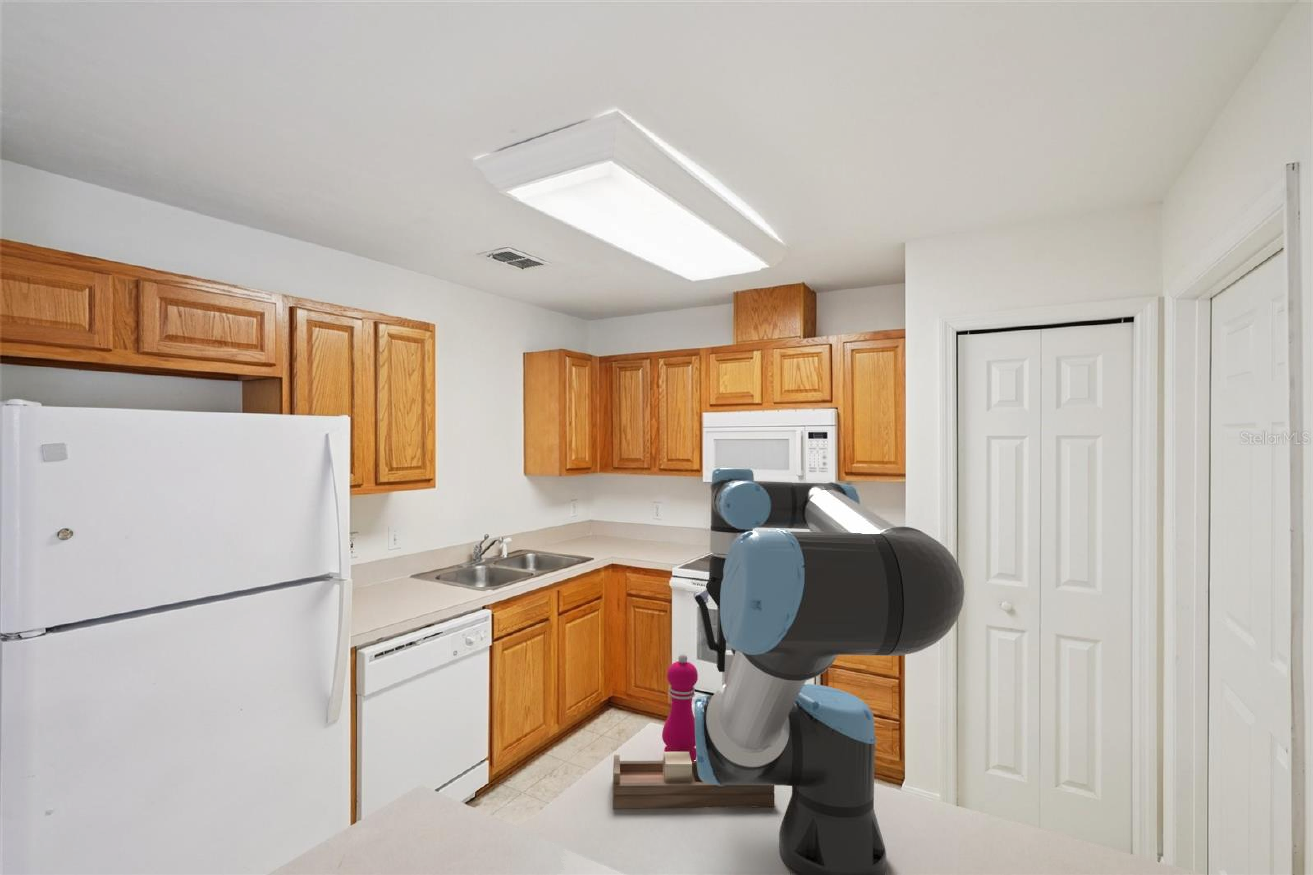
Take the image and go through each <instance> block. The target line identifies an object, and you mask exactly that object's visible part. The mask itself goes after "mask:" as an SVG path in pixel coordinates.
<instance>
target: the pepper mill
mask: <svg viewBox="0 0 1313 875" xmlns="http://www.w3.org/2000/svg"><path fill="white" fill-rule="evenodd" d="M666 679H667V682H668V684H669V685H670V686H669V687H668V688H669V689H668V690H669V692H668V695H669V696H670V698H671V703H670V704H671V705H670V710H669V711H670V712H669V714H668V716H667V717H666V718H667V719H666V720H665V722H664V725H663V727H662V734H661V737H662V738H661V739H662V741H663V743H664V744H665V747H664V749H663V753H664V752H689V754H690V758H691V761H694V760H696V761H697V756H696V742H695V715H694V711H693V704H692V703H693V698H694V697H695V696H696V693H695V690H696V688H695V685H696V684H697V683H698V679H699V675H698V670H697V668H696V666H694V664H693V663H691V662H689V661H688V656H687V655H686V654H685V653H681V654H679V655H678V661H675V662H673V663H672V664H671V665H669V668H668V669H667V672H666Z"/></svg>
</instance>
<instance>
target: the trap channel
mask: <svg viewBox="0 0 1313 875" xmlns="http://www.w3.org/2000/svg"><path fill="white" fill-rule="evenodd" d="M612 771H613V772H612V808H613V809H676V808H677V809H680V808H681V809H682V808H683V809H685V808H686V809H687V808H688V809H689V808H691V809H694V808H702V809H703V808H774V807H775V801H776V800H775V797H776V796H775V785H725V786H719V785H716V784H708V783H704V782H703V781H701V779H700V778H699V776H698V771H697V760H696V761H692V782H664V778H663V760H621V757H620V754H613V769H612Z"/></svg>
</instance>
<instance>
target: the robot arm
mask: <svg viewBox="0 0 1313 875" xmlns="http://www.w3.org/2000/svg"><path fill="white" fill-rule="evenodd" d="M754 479H755V477H754V471H753V470H752V469H751V468H736V467H735V468H734V467H733V468H732V467H731V468H729V467H717V468H716V467H715V469H713V470H712V473H711V484H710V492H711V493H710V495H711V496H710V499H711V500H710V534H709V535H710V537H709V538H710V540H709V552H710V553H711V555H710V556H709V565H708V567H709V569H708V571H709V572H708V581H707V583H706V584H705V588H704V589H703V590H700V591H698V592H695V593H693V598H694V600H695V602H696V603H697V605H698V607H699V613H700V617H701V621H702V627H703V630H704V635H705V636H704V637H705V641H706V645H707V647H708V649H709V650H710V651H714V652H716V668H717V670H718V672H719V673H722V674H721V675H722V676H721V679H722V680H721V681H722V682H721V687H719V688H717V690H716V691H715V692H714V694H713V695H709V694H708V695H707V694H706V695H704V696H699V697H697V698H696V699H695V700H694V711H693V715H694V718H695V742H696V746H695V748H696V761H697V771H698V776H699V778H700V779H701V781H703V782H704V783H708V784H716V785H719V786H725V785H774V786H784V787H785V786H786V787H788V786H789V787H791V796H790V798H789V802H788V805H787V806H786V810H785V813H784V816H783V819H782V821H781V824H780V827H779V832H778V833H779V834H778V851H779V854H780V857H781V858H782V861H783V862H784V863H785V864H786V865H787V867H788V868H790V870H792V871H793V872H794V873H795V874H797V875H886V872H887V851H886V845H885V842H884V838H883V836H882V832H881V829H880V826H879V822H878V819H877V815H876V813H875V812H876V810H875V806H874V804H875V803H874V801H875V800H874V799H875V757H876V756H875V753H876V743H877V738H876V732H875V717H874V713H873V710H872V709H871V707H870V706H869V705H868V704H867V703H865V701H863V700H862V699H861V698H859V697H858V696H856V695H854V694H851V693H850V692H847V691H843V690H841V689H838V688H835V687H830V686H827V685H821V684H813V683H812V684H811V683H806V682H807V681H809V680H811V679H815V678H817V677H818V676H821V675H822V674H823V673H825V672H826V671H828V669H829V668H830V667H831V666H832V665H833V664H834V662H835V661H836V658H837V657H838V656H841V655H842V656H843V655H844V656H845V655H846V656H847V655H849V656H850V655H851V656H888V657H889V656H891V657H892V656H893V657H894V656H895V657H898V656H905V655H910V654H915V653H917V652H920V651H923V650H926V649H928V648H929V647H932V646H933V645H935V644H936V643H937V642H939V641H940V640H941V639H943V637H945V636H946V635H947V634H948V633H949V632H950V631H951V629H952V628H953V626H954V625H955V624H956V622H957V620H958V619H959V616H960V613H961V611H962V608H963V604H964V598H965V585H964V584H965V583H964V581H965V580H964V578H963V575H962V574H963V573H962V571H961V568H960V566H959V564H958V562H957V560H956V559H955V557H954V556H953V554H952V553H951V552H950V551H949V550H948V549H947V548H946V547H945V546H944V545H943V544H942V543H940V541H938V540H936V539H935V538H933V537H931V536H930V535H928V534H926V533H925V532H923V531H921V530H920V529H917V528H914V527H910V526H904V525H903V526H902V525H901V526H896V525H894V524H893V523H891V522H889V521H887V520H886V519H885V518H883V517H881V516H880V515H878V514H876V513H874V512H873V511H871V510H870V509H868V508H866V507H865V506H863V505H861V503H860V496H859V494H858V493H857V490H856V488H855V487H854V486H853V485H850V484H847V483H846V484H845V483H838V482H835V481H834V482H831V481H829V482H791V481H771V480H770V481H767V480H766V481H765V480H754ZM758 528H759V529H767V530H754V529H758ZM787 529H790V530H791V529H793V530H794V529H795V530H798V529H799V530H809V531H789V530H787ZM709 596H710V598H711V599H712V600H713V602H714V603H715V605H716V606H717V618H716V619H717V620H716V621H717V623H716V624H717V625H716V640H715V635H714V631H713V626H712V623H711V617H710V613H709V608H708V605H707V603H708V602H709ZM727 644H728V645H729V647H730V648H731V649H729V650H728V649H727ZM805 683H806V684H805Z"/></svg>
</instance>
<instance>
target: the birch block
mask: <svg viewBox="0 0 1313 875" xmlns="http://www.w3.org/2000/svg"><path fill="white" fill-rule="evenodd" d="M662 757H663V760H662V761H663V778H664V782H692V761H691V758H690V754H689V752H664V751H663V756H662Z"/></svg>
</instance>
